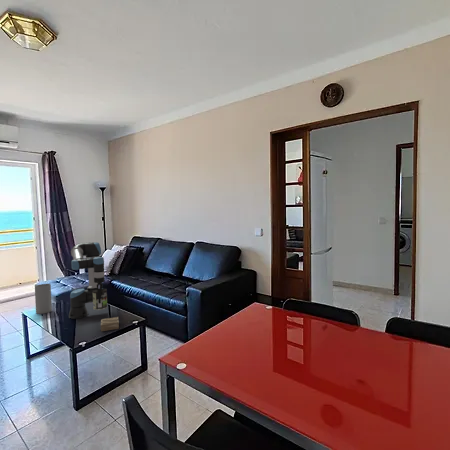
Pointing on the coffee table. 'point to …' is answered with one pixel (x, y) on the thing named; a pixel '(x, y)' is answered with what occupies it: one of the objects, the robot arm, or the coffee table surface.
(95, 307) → the coffee can
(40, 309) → the cylinder vase
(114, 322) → the beech block
